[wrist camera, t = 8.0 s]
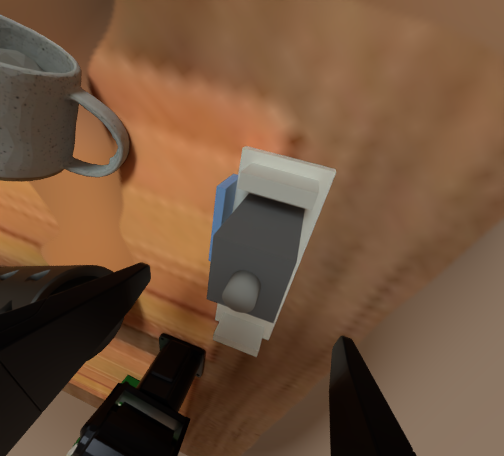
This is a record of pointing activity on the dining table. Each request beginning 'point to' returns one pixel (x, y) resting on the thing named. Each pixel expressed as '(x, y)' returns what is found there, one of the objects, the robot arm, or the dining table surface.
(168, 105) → the dining table surface
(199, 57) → the dining table surface
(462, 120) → the dining table surface
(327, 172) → the white ridged plate
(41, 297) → the muzzle brake
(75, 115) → the ceramic mug
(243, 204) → the dark grey knobbed block
